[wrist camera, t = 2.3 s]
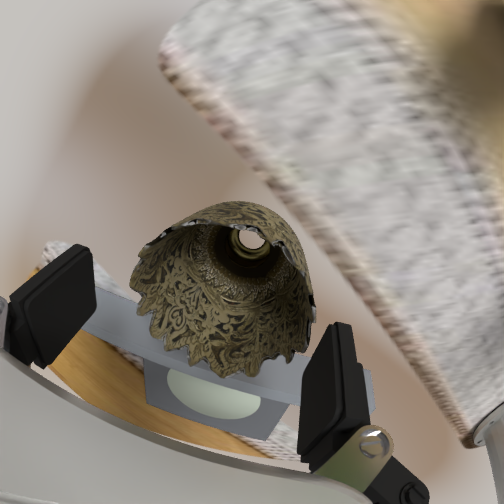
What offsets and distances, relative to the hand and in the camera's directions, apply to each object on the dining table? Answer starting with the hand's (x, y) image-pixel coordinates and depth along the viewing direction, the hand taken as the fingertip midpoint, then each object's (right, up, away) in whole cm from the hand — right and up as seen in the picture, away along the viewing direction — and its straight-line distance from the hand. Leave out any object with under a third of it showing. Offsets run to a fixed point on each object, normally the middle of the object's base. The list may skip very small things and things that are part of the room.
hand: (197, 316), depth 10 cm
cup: (+2, +3, +8) cm, 9 cm away
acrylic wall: (0, -5, +12) cm, 13 cm away
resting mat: (-2, -11, +15) cm, 18 cm away
